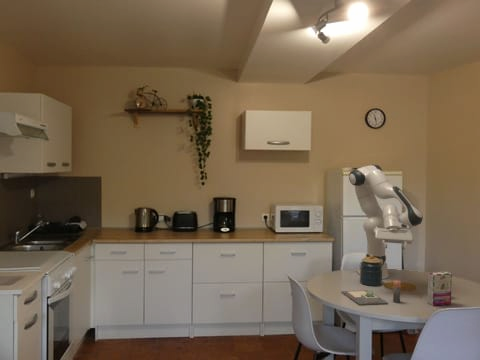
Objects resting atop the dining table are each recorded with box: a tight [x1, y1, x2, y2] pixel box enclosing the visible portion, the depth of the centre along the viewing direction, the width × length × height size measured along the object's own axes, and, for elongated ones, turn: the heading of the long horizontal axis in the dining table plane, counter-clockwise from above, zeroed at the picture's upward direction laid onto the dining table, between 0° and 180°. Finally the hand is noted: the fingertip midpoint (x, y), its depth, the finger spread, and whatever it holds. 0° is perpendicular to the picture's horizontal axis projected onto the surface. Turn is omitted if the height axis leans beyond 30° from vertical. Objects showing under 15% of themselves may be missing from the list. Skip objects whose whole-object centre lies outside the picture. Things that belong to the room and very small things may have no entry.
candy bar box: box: [426, 270, 453, 307], centre depth 225 cm, size 11×5×16 cm, turn 105°
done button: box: [366, 290, 374, 297], centre depth 226 cm, size 4×4×3 cm
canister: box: [359, 255, 383, 287], centre depth 262 cm, size 13×13×18 cm
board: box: [340, 289, 389, 307], centre depth 233 cm, size 22×16×3 cm
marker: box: [392, 279, 402, 304], centre depth 227 cm, size 4×4×11 cm
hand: (394, 248), depth 237 cm, fingers open, 8 cm apart
